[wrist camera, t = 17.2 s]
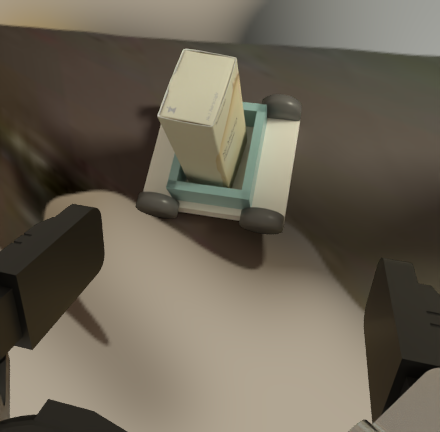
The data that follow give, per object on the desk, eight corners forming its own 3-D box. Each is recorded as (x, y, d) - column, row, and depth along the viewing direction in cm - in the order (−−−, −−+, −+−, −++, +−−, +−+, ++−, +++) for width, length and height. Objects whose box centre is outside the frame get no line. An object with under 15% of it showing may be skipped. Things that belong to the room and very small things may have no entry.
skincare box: (230, 195, 40) (214, 131, 28) (187, 184, 41) (154, 118, 29) (248, 138, 42) (240, 56, 30) (206, 128, 42) (182, 45, 31)
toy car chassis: (300, 118, 43) (303, 93, 39) (281, 236, 40) (283, 222, 35) (171, 104, 46) (161, 79, 41) (142, 214, 42) (128, 199, 38)
